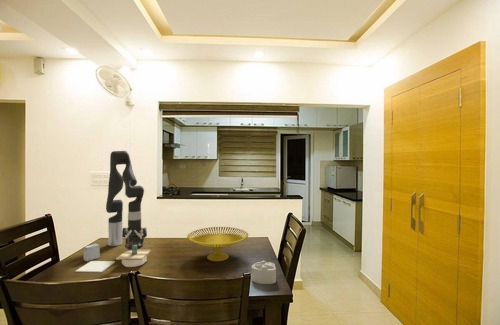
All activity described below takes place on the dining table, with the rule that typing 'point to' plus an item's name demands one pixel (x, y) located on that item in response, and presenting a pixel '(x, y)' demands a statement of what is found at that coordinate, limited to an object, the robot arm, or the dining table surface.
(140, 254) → the lid
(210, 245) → the cake stand
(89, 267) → the mat
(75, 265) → the dining table surface
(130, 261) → the bowl
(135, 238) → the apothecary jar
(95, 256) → the medicine box
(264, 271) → the lumpy-topped squat cylinder
